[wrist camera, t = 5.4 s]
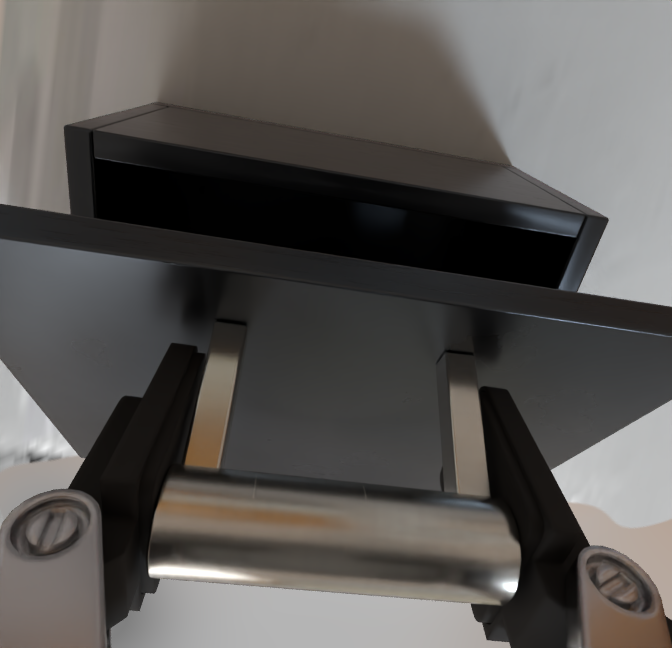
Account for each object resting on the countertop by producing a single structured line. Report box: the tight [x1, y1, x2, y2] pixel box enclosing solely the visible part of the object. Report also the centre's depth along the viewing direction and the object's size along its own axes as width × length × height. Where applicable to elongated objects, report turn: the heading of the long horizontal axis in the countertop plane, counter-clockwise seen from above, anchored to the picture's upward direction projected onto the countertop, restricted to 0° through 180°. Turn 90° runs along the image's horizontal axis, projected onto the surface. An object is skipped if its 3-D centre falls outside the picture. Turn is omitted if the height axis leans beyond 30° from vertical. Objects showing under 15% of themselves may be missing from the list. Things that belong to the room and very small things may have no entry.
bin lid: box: [0, 204, 672, 606], centre depth 13 cm, size 12×17×6 cm
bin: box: [64, 102, 609, 292], centre depth 21 cm, size 12×17×9 cm
